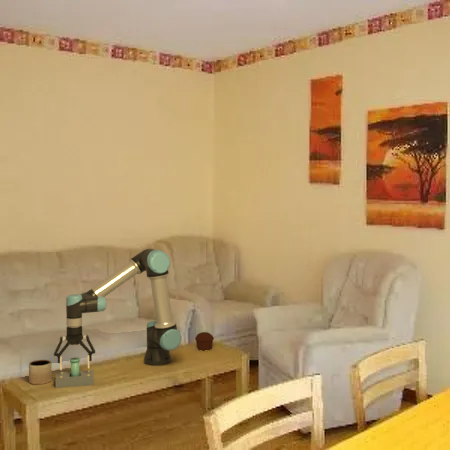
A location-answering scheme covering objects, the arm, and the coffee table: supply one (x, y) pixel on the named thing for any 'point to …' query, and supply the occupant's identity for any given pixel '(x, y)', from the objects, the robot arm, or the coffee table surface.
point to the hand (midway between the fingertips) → (74, 368)
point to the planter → (40, 372)
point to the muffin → (204, 341)
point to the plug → (74, 366)
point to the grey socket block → (74, 379)
